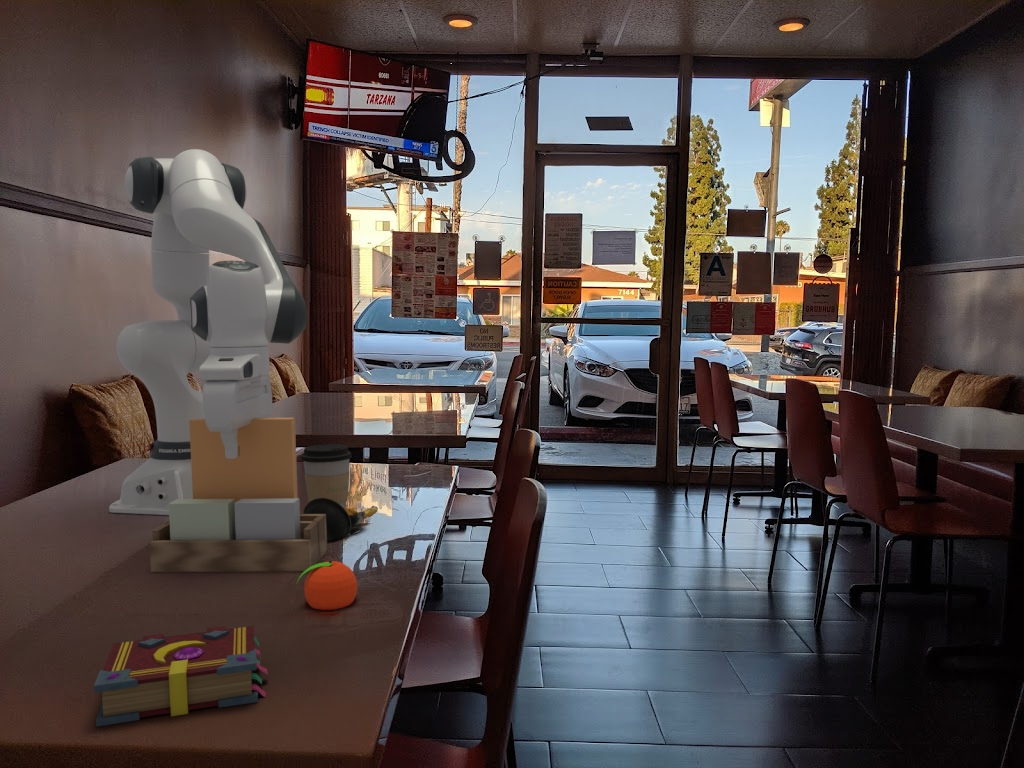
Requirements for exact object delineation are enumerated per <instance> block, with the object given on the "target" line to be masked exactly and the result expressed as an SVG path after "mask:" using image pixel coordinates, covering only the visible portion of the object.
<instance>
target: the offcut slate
mask: <svg viewBox="0 0 1024 768" xmlns="http://www.w3.org/2000/svg"><path fill="white" fill-rule="evenodd" d="M300 505H301V503H300V498H299V497H298V498H269V499H240V500H239V501H237V502H236V503H234V506H235V529H236V540H292V539H301V531H300V514H301V510H300V508H301V507H300Z"/></svg>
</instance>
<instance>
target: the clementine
mask: <svg viewBox="0 0 1024 768" xmlns="http://www.w3.org/2000/svg"><path fill="white" fill-rule="evenodd" d="M309 570H310V571H309ZM307 572H309V574H308V575H307V577H306V579H305V581H304V588H303V589H304V590H303V591H304V597H305V600H306V602H307V603H308V605H309V606H310V608H312V609H316V610H322V612H319V613H318V614H322V615H327V616H328V615H329V616H330V615H337V614H340V613H341V612H338V611H337V612H333V611H332V610H338V609H342V608H345V607H348V606H350V605H351V604H353V603H354V601H355V599H356V596H357V593H358V582H357V577H356V575H355V574H354V571H353V570H352V569H351V568H350V567H349V566H348V565H346V564H345V563H343V562H340V561H335V560H329V561H324V562H319V563H316V564H315V565H313V566H311V567H309V568H308V569H306V570H305V571H302V573H301V574H300V575H299V577H298V579H297V582H296V586H297V585H298V582H300V581H299V580H300V579H301V578H302V577H303V576H304V575H305V574H306V573H307ZM323 611H324V612H323ZM325 611H326V612H325ZM327 611H331V612H327Z"/></svg>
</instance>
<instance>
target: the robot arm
mask: <svg viewBox="0 0 1024 768" xmlns="http://www.w3.org/2000/svg"><path fill="white" fill-rule="evenodd" d="M124 189H125V190H124V191H125V192H126V197H127V198H128V202H129V204H130V205H131V206H132V207H133V208H134V209H135V210H137V211H138V212H143V213H147V214H151V215H152V214H154V215H153V222H152V230H151V243H150V244H151V245H150V247H151V248H150V250H151V252H150V253H151V285H152V289H153V290H154V291H155V293H156V295H158V296H159V297H160V298H161V299H163V300H165V301H167V302H169V303H170V304H172V305H173V306H174V308H175V311H176V312H177V319H174V320H172V319H171V320H169V319H168V320H166V319H165V320H146V321H141V322H137V323H133V324H129V325H126V326H125V327H124V328H123V329H122V330H121V332H120V334H119V335H118V337H117V340H116V346H115V347H116V355H117V358H118V360H119V362H120V363H121V366H123V368H124V369H126V371H128V372H129V373H131V374H132V375H134V376H136V378H138V379H139V380H140V381H141V383H143V385H144V386H145V388H146V389H147V391H148V393H149V394H150V396H151V399H152V402H153V406H154V411H155V420H156V421H155V422H156V431H157V432H156V434H157V439H156V440H154V441H153V442H151V443H150V444H148V445H146V446H145V448H146V449H145V451H146V452H149V458H148V459H147V460H146V461H144V462H143V463H142V464H141V465H140V466H138V467H137V468H136V469H134V471H133V472H131V473H130V474H128V475H127V476H126V477H125V478H124V480H123V483H122V486H121V491H120V498H119V499H117V500H115V501H114V502H112V503H111V504H110V505H109V509H108V511H109V513H116V514H135V515H136V514H137V515H138V514H139V515H140V514H141V515H159V516H169V503H171V502H173V501H175V500H177V499H193V489H192V468H191V447H190V426H189V420H192V419H205V421H206V425H207V427H208V429H209V431H211V432H220V433H221V439H222V442H223V444H224V447H225V457H226V458H228V459H234V458H237V457H239V456H240V445H238V443H237V437H236V436H237V435H238V428H240V427H243V426H246V425H248V424H250V423H251V420H252V419H255V418H269V417H270V416H272V414H273V408H274V407H273V405H274V404H273V394H272V382H271V378H270V375H271V373H270V371H271V370H270V368H271V367H270V349H269V348H270V346H269V345H270V344H269V343H272V344H287V345H288V344H291V343H292V342H294V341H295V340H296V339H297V338H298V337H299V336H300V335H301V334H302V333H303V332H304V331H305V329H306V327H307V324H308V311H307V310H308V309H307V305H306V304H307V303H306V301H305V299H304V296H303V294H302V293H301V291H300V290H299V288H298V287H297V286H296V285H295V284H294V282H293V281H292V279H291V277H290V275H289V274H288V272H287V270H286V267H285V266H284V263H283V262H282V259H281V258H280V255H279V254H278V252H277V250H276V248H275V246H274V244H273V241H272V240H271V237H270V236H269V234H268V233H267V230H266V229H265V227H264V225H262V223H261V222H260V221H258V219H255V218H254V217H252V216H250V215H249V214H248V213H247V212H246V210H244V206H245V203H246V200H247V196H248V191H247V190H248V189H247V183H246V180H245V176H244V174H243V173H242V171H241V170H240V169H239V168H238V167H235V166H233V165H230V164H227V163H223V162H222V163H221V162H220V160H219V159H218V158H217V157H216V156H215V155H214V154H212V153H211V152H209V151H206V150H204V149H199V148H191V149H187V150H184V151H181V152H180V153H179V154H176V156H175V157H174V158H170V157H169V158H165V157H160V158H154V157H153V156H143V157H137V158H134V160H132V161H131V162H129V165H128V168H127V171H126V173H125V176H124ZM210 251H214V252H217V253H221V254H225V255H229V256H232V257H235V258H238V259H240V260H221V261H215V262H214V263H212V264H211V265H210ZM195 372H197V373H198V376H199V380H200V381H205V382H204V383H203V387H202V391H200V390H196V389H195V388H193V387H192V386H191V384H190V381H189V380H188V375H187V374H188V373H195Z"/></svg>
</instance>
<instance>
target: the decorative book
mask: <svg viewBox="0 0 1024 768" xmlns="http://www.w3.org/2000/svg"><path fill="white" fill-rule="evenodd" d="M255 644H257V646H258V647H260V642H259V641H258V639H257V637H256V636H255V626H254V625H252V626H242V627H236V628H228V629H227V626H226V625H225V626H216V627H207V628H206V631H203V632H195V633H187V634H179V635H172V636H171V635H170V636H165V637H164V633H159V634H152V635H143V637H142V639H141V640H140V639H139V640H132V641H131V640H130V641H123V642H117V643H116V642H115V643H112V646H111V648H110V651H109V654H108V656H107V659H106V661H105V664H104V666H103V668H102V669H100V670H99V673H98V675H97V677H96V680H95V682H94V684H93V694H94V693H95V694H97V693H101V696H102V697H101V699H102V700H101V701H102V703H101V705H100V708H99V711H98V713H97V715H96V718H95V725H96V726H95V727H97V728H98V727H103V726H111V725H115V724H116V725H117V724H122V723H129V722H134V721H139V720H140V718H146V717H152V716H159V715H165V714H170V717H175V716H181V715H182V716H183V715H188V714H189V711H193V710H197V709H198V710H199V709H200V710H201V709H205V708H212V707H218V708H219V709H220V708H226V707H232V706H239V705H246V704H247V705H248V704H254V703H259V694H260V695H261V696H262V697H265V698H266V691H265V690H263V689H262V688H261V687H260V686H259V685H258V682H259V683H260V684H261V685H262V684H263V679H262V678H261V677H260V676H259V675H258V673H256V671H257V669H259V670H260V671H261V672H263V673H265V674H266V675H268V668H266V667H264V666H263V665H261V660H262V658H261V657H262V656H261V651H260V650H259V649H257V648H256V647H255V646H256V645H255ZM257 655H258V656H259V658H260V660H259V659H257Z"/></svg>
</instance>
